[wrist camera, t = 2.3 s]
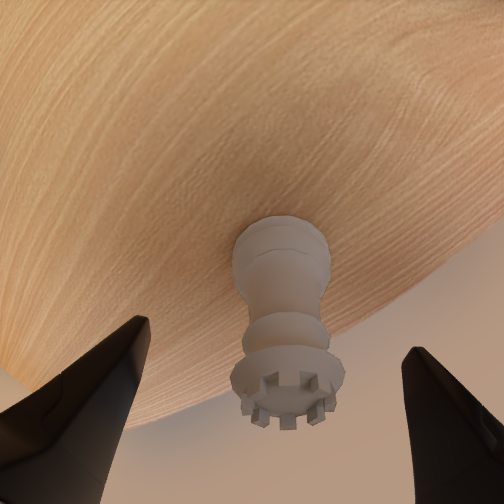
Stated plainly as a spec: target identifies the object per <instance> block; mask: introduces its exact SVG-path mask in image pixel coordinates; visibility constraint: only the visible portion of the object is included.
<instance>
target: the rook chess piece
mask: <svg viewBox="0 0 504 504" xmlns="http://www.w3.org/2000/svg"><path fill="white" fill-rule="evenodd" d="M232 259H233V262H232V265H231V266H232V274H233V281H234V284H235V287H236V289H237V290H238V292H239V293H240V295H241V296H242V298H243V299H244V301H245V302H246V304H247V305H248V307H249V316H250V323H249V327H248V328H247V329H246V331H245V333H244V336H243V338H242V346H243V351H244V353H245V354H246V355H247V356H246V357H244V358H243V359H242V360H240V361H239V362H238V363H237V364H236V365H235V367H234V369H233V371H232V373H231V375H230V380H231V385H232V389H233V390H234V391H235V392H236V394H237V395H238V396H239V397H240V398H241V410H242V414H243V415H252V416H251V423H253V424H255V425H258V426H260V427H263V428H265V427H266V426H268V425H269V416H273V417H279V418H280V430H296V417H298V416H302V415H306V414H307V423H309V424H310V425H312V426H313V425H315V424H317V423H320V422H322V421H324V420H325V412H334V410H335V406H336V396H335V394H336V392H337V391H338V390H339V388H340V387H341V385H342V383H343V379H344V375H345V370H344V368H343V366H342V363H341V361H340V359H338V358H337V357H335V356H334V355H332V354H330V353H329V352H327V349H328V348H329V342H330V334H329V332H328V330H327V328H326V326H325V324H323V323H322V322H321V318H320V300H321V298H322V296H323V295H324V293H325V290H326V288H327V286H328V285H329V283H330V279H331V267H332V260H331V257H330V249H329V247H328V244H327V242H326V240H325V237H324V235H323V234H322V233H321V232H320V231H319V230H318V229H317V228H316V227H315V226H313V225H312V224H311V223H310V222H308V221H305V220H303V219H300V218H297V217H294V216H291V215H286V216H269V217H266V218H264V219H262V220H260V221H257V222H255V223H253V224H251V225H250V226H249V227H248V228H247V229H246V230H245V231H244V232H243V233H242V234H241V235H240V236H239V237H238V238H237V241H236V244H235V247H234V250H233V253H232Z"/></svg>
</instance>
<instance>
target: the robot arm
mask: <svg viewBox="0 0 504 504" xmlns="http://www.w3.org/2000/svg"><path fill="white" fill-rule="evenodd" d="M150 340H151V331H150V323H149V319H148V317H145V316H140V315H136V316H134V317H133V318H131V319H130V320H129V321H127V322H126V323H125V324H123V325H122V326H121V327H119V328H118V329H117V330H115V331H114V332H113V333H112V334H110V335H109V336H108V337H106V338H105V339H104V340H102V341H101V342H100V343H98V344H97V345H96V346H95V347H93V348H92V349H91V350H89V351H88V352H87V353H85V354H84V355H83V356H82V357H80V358H79V359H78V360H76V361H75V362H74V363H73V364H71V365H70V366H69V367H67V368H66V369H65V370H64V371H62V372H61V374H58V375H57V376H56V377H54V378H53V379H52V380H51V381H49V382H48V383H47V384H45V385H44V386H43V387H41V388H40V389H38V390H37V391H35V392H34V393H32V394H31V395H29V396H28V397H26V398H24V399H23V400H21V401H19V402H18V403H16V404H15V405H13V406H11V407H10V408H8V409H6V410H5V411H3V412H1V413H0V504H100V501H101V497H102V494H103V490H104V487H105V486H104V485H105V483H106V480H107V477H108V473H109V471H110V467H111V464H112V461H113V458H114V455H115V452H116V449H117V446H118V443H119V440H120V437H121V434H122V431H123V428H124V425H125V422H126V420H127V417H128V414H129V411H130V408H131V406H132V403H133V400H134V397H135V395H136V392H137V389H138V387H139V384H140V381H141V377H142V373H143V369H144V364H145V360H146V356H147V352H148V349H149V345H150ZM401 369H402V379H403V391H404V403H405V410H406V416H407V423H408V429H409V437H410V445H411V453H412V463H413V473H414V486H415V498H416V499H415V504H504V426H503V424H502V423H500V422H499V421H498V420H497V419H496V418H495V417H494V416H493V415H492V414H491V413H490V412H489V411H488V410H487V409H486V408H485V407H484V406H482V404H481V403H480V402H479V401H478V400H477V399H476V398H475V397H474V396H473V395H472V394H471V393H470V392H469V391H468V390H467V389H466V388H465V387H464V386H463V385H462V384H461V383H460V382H459V381H458V380H457V379H456V378H455V377H454V376H453V375H452V374H451V373H450V372H449V371H448V370H447V369H446V368H444V366H442V365H441V364H440V363H439V362H438V361H437V360H436V359H435V358H434V357H433V356H432V355H431V354H430V353H429V352H428V351H427V350H426V349H425V348H423V347H413V348H411V350H410V351H409V353H408V354H407V356H406V357H405V359H404V360H403V362H402V366H401Z"/></svg>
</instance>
